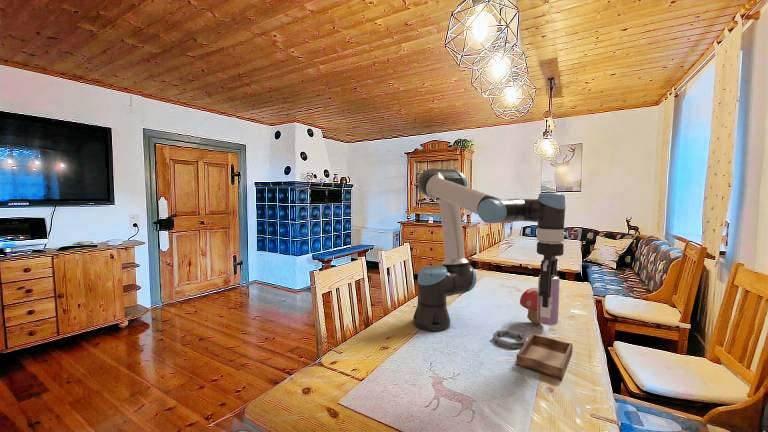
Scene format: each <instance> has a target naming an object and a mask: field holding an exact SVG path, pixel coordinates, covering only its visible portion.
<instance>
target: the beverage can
mask: <svg viewBox="0 0 768 432" xmlns="http://www.w3.org/2000/svg"><path fill="white" fill-rule="evenodd" d="M540 275H541V274H539V275H538V281H537V282H538V283H537V288H538V294H539V293H540ZM550 295H551V296H550V297H551V313H550V318H546V317H542V316H540V310H541V296H538V305H537V320H538V321H539V322H540V323H541V324H540V325H546V326H556V325H558V322H559V308H560V307H559V306H560V305H559V303H560V277H559V276H558V275H557V276H555V275H554V276H552V280H551V292H550Z"/></svg>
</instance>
